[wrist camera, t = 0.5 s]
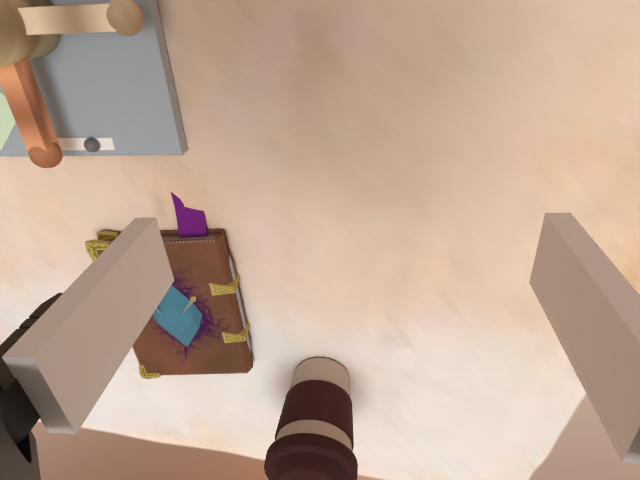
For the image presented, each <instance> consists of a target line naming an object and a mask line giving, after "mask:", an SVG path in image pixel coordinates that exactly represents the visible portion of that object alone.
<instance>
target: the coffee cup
mask: <svg viewBox="0 0 640 480" xmlns="http://www.w3.org/2000/svg"><path fill="white" fill-rule="evenodd" d="M353 444H354V443H353V417H352V401H351V398H350V381H349V375H348V373H347V371H346V369H345V368H344V367H343V366H342V365H341V364H339V363H338V362H336V361H334V360H331V359H328V358H311V359H308V360H306V361H304V362H302V363H301V364H300V365H299V366H298V367H297V369H296V370H295V373H294V377H293V380H292V384H291V387H290V390H289V391H288V393H287V396H286V399H285V402H284V406H283V409H282V413H281V416H280V420H279V423H278V427H277V431H276V434H275V442H273V443H272V444H271V446H270V447H269V449H268V451H267V454H266V459H265V465H264V469H265V473H266V476H267V477H268V479H269V480H357V469H358V464H357V460H356V457H355V455H354V454H353V452H352V451H353Z"/></svg>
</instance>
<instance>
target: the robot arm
mask: <svg viewBox="0 0 640 480" xmlns="http://www.w3.org/2000/svg"><path fill="white" fill-rule="evenodd" d="M173 282H174V277H173V274H172V271H171V267H170V264H169V260H168V257H167V254H166V250H165V247H164V244H163V240H162V237H161V233H160V230H159V227H158V223H157V220H156V218H135V219H134V220H133V221H132V222H131V223H130V224H129V225H128V226H127V227H126V228H125V229H124V230H123V232H122V233H121V234H120V235H119V236H118V237H117V238H116V239H115V240H114V241H113V242H112V243H111V244H110V245H109V246H108V247H107V248H106V249H105V250H104V251H103V252H102V253H101V254H100V255H99V256H98V258H97V259H96V260H95V261H94V262H93V263H92V264H91V265H90V266H89V267H88V268H87V269H86V270H85V271H84V272H83V273H82V274H81V275H80V276H79V277H78V278H77V279H76V280H75V281H74V282H73V284H72V285H71V286H70V287H69V288H68V289H67V290H66V291H65V292H64V293H58V294H56V295H55V296H53V297H52V298H50V299H49V300H47V301H45V302H44V303H42V304H41V305H40V306H39V307H38V308H37V309H36V310H35V311H34V312H33V313H32V314H31V315H30V316H29V319H26V320H25V321H24V322H23V323H22V324H21V325H20V326H19V329H16V330H15V331H14V332H13V333H12V334H11V335H10V336H9V337H8V338H7V339H6V340H5V341H4V342H3V343H2V344H1V345H0V480H41V477H40V470H39V462H38V454H37V446H36V439H35V437H34V435H33V433H32V432H31V429H32V428H33V426H34V425H35V424H36V422H37V421H38V420H39V418H40V419H41V421H42V423H43V424H44V426H45V427H46V429H47V431H48V432H49V433H65V434H76V433H77V432H78V430H79V429H80V427H81V426H82V424H83V422H84V421H85V419H86V418H87V416H88V415H89V413H90V412H91V410H92V408H93V407H94V405H95V404H96V402H97V401H98V399H99V397H100V396H101V394H102V393H103V391H104V390H105V388H106V386H107V385H108V383H109V382H110V380H111V379H112V377H113V376H114V374H115V372H116V371H117V369H118V368H119V366H120V365H121V363H122V361H123V360H124V358H125V357H126V355H127V354H128V352H129V350H130V349H131V347H132V346H133V344H134V343H135V341H136V340H137V338H138V336H139V335H140V333H141V332H142V330H143V329H144V327H145V325H146V324H147V322H148V321H149V319H150V318H151V316H152V314H153V313H154V311H155V310H156V308H157V307H158V305H159V304H160V302H161V300H162V299H163V297H164V296H165V294H166V293H167V291H168V289H169V288H170V286H171V285H172V283H173ZM529 283H530V285H531V287H532V289H533V290H534V292H535V294H536V296H537V298H538V300H539V302H540V304H541V306H542V308H543V310H544V312H545V314H546V316H547V318H548V320H549V321H550V323H551V325H552V327H553V329H554V331H555V333H556V335H557V337H558V339H559V341H560V343H561V345H562V347H563V349H564V351H565V353H566V354H567V356H568V358H569V360H570V362H571V364H572V366H573V368H574V370H575V372H576V374H577V376H578V378H579V380H580V382H581V384H582V385H583V387H584V389H585V391H586V393H587V395H588V397H589V399H590V401H591V403H592V405H593V407H594V409H595V411H596V413H597V415H598V416H599V418H600V420H601V422H602V424H603V426H604V428H605V430H606V432H607V434H608V436H609V438H610V440H611V442H612V444H613V446H614V447H615V449H616V451H617V453H618V455H619V457H620V459H621V461H622V462H626V463H640V295H639V294H638V293H637V291H636V290H635V289H634V288H633V287H632V286H631V284H630V283H629V282H628V281H627V280H626V278H625V277H624V276H623V275H622V274H621V272H620V271H619V270H618V269H617V268H616V266H615V265H614V264H613V263H612V262H611V260H610V259H609V258H608V257H607V256H606V255H605V253H604V252H603V251H602V250H601V249H600V247H599V246H598V245H597V244H596V243H595V241H594V240H593V239H592V238H591V237H590V235H589V234H588V233H587V232H586V231H585V229H584V228H583V227H582V226H581V225H580V224H579V222H578V221H577V220H576V219H575V218H574V216H573V215H572V214H571V213H545V216H544V221H543V225H542V230H541V234H540V238H539V243H538V247H537V251H536V256H535V260H534V265H533V269H532V273H531V278H530V282H529Z"/></svg>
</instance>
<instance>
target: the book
mask: <svg viewBox="0 0 640 480" xmlns="http://www.w3.org/2000/svg"><path fill="white" fill-rule="evenodd" d="M171 195H172V198H173V202H174V206H175V211H176V216H177V224H178V230H174V231H160V233H161V237H162V240H163V244H164V247H165V250H166V254H167V257H168V260H169V264H170V267H171V271H172V274H173V277H174V282H173V283H172V285H171V286H170V288H169V289H168V291H167V293H166V294H165V296H164V297H163V299H162V300H161V302H160V304H159V305H158V307H157V308H156V310H155V311H154V313H153V314H152V316H151V318H150V319H149V321H148V322H147V324H146V325H145V327H144V329H143V330H142V332H141V333H140V335H139V336H138V338H137V340H136V341H135V343H134V344H133V346H132V347H133V349H134V352H135V354H136V357H137V359H138V361H139V364H140V365H139V372H140V375H141V377H142V378H145V379H152V378H157V377H160V376H161V375H190V374H229V373H247V372H249V371H250V370H251V369H252V367H253V360H252V356H251V343H250V338H249V334H248V331H249V327H250V325H249V322H248V321H246V320H245V316H244V311H243V306H242V302H241V297H240V293H239V288H238V282H239V274H236V273H235V270H234V265H233V261H232V259H231V257H230V254H229V252H228V248H227V243H226V239H225V234H224V231H223V230H222V229H206V223H205V214H204V211H200V210H195V209H191V208H187V207H183V206H184V204H183V203H182V201H181V200H180V199H179V198H178V197H177V196H176V195H174V194H173V193H172V192H171ZM120 234H121V233H118V232H111V231H101V232H97V236H98V240H90V241H86V242H85V245H86V250H87V252H88V254H89V255H90V257H91V258H92V260H93V261H95V260H96V259H97V258H98V256H99V255H100V254H101V253H102V252H103V251H104V250H105V249H106V248H107V247H108V246H109V245H110V244H111V243H112V242H113V241H114V240H115V239H116V238H117V237H118V236H119V235H120Z"/></svg>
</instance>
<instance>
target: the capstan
mask: <svg viewBox="0 0 640 480" xmlns="http://www.w3.org/2000/svg"><path fill="white" fill-rule="evenodd" d="M143 24H144V16H143V12H142V10H141V8H140V7H139V5H138V4H137V3H136V2H134V1H133V0H111V1H110V2H109V3H101V4H79V5H58V6H52V4H51V3H50V1H49V0H0V84H1V87H2V89H3V92H4V94H5V97H6V99H7V102H8V104H9V107H10V109H11V112H12V114H13V117H14V119H15V122H16V124H17V127H18V129H19V132H20V134H21V137H22V139H23V141H24V144H25V146H26V149H27V151H28V154H29V157H30V159H31V161H32V162H33V163H34V164H36V165H37V166H39V167H42V168H52V167H55V166H57V165H58V164H59V163H60V162H61V160H62V157H63V153H62V149H61V147H60V146H59V142H58V139H57V137H56V134H55V131H54V128H53V126H52V123H51V120H50V117H49V114H48V112H47V109H46V106H45V103H44V101H43V98H42V95H41V92H40V90H39V87H38V84H37V81H36V79H35V76H34V73H33V70H32V67H31V65H30V62H29V60H32V59H36V58H40V57H44V56H46V55H48V54H50V53H51V52H52V51H53V50H54V49H55V48H56V46H57V44H58V41H59V36H60V34H66V33H91V32H117V33H119V34H121V35H124V36H132V35H135V34H137V33H138V32H139V31H140V30H141V29H142V27H143Z"/></svg>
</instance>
